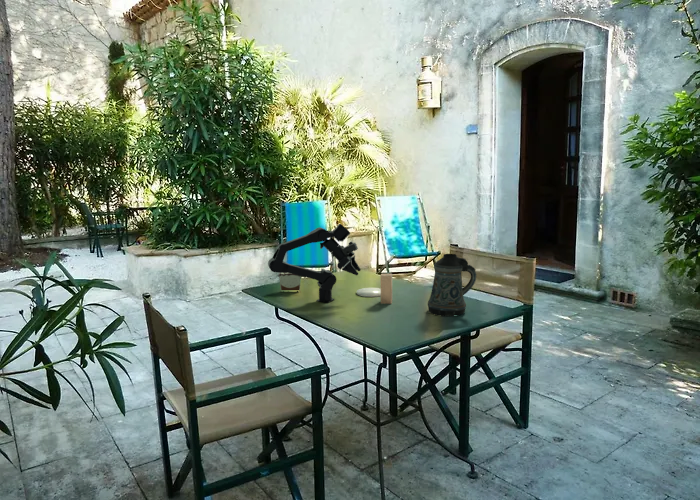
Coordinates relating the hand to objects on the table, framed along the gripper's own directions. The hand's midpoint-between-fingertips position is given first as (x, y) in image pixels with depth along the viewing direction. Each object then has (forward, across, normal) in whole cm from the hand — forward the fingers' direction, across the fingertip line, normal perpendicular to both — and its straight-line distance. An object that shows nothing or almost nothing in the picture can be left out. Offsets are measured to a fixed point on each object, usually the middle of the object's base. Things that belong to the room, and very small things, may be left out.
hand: (358, 272), depth 258 cm
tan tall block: (+19, -1, 0) cm, 19 cm away
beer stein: (+39, -14, -20) cm, 46 cm away
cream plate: (+12, +15, +7) cm, 21 cm away
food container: (-16, +17, +36) cm, 43 cm away
